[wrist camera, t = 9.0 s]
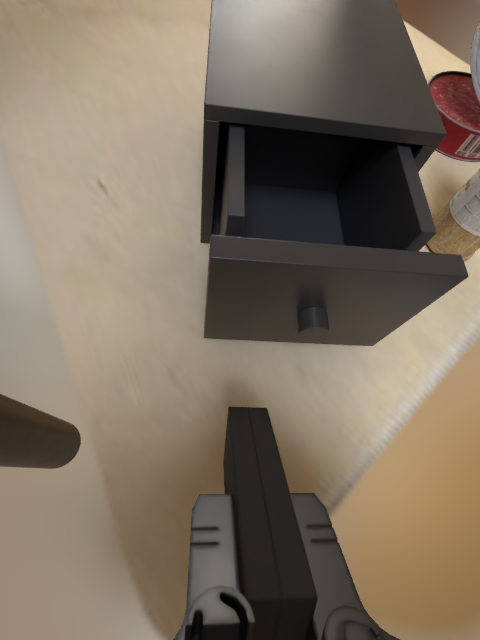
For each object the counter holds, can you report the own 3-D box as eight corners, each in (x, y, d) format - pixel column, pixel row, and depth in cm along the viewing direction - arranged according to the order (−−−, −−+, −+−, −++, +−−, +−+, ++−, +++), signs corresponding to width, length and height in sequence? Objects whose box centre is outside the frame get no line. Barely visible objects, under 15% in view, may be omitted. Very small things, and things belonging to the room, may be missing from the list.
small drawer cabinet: (357, 254, 27) (447, 134, 17) (200, 242, 26) (204, 103, 16) (335, 133, 33) (393, -6, 24) (208, 118, 32) (214, -36, 22)
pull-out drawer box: (376, 363, 22) (477, 300, 14) (202, 356, 21) (208, 283, 13) (346, 196, 28) (405, 88, 20) (211, 183, 27) (218, 62, 19)
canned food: (431, 139, 42) (518, 57, 36) (475, 191, 37) (585, 108, 31) (380, 93, 36) (474, -18, 29) (425, 149, 31) (550, 32, 24)
